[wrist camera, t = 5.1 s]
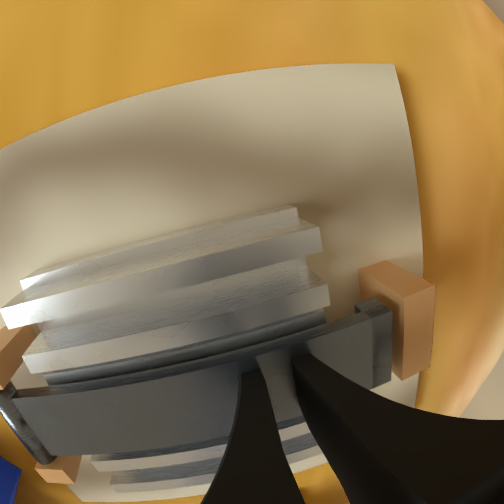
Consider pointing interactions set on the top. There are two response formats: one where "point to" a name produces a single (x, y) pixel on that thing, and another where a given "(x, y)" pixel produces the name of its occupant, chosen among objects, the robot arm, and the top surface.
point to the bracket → (8, 481)
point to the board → (220, 188)
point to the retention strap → (192, 391)
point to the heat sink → (175, 321)
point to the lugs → (371, 286)
